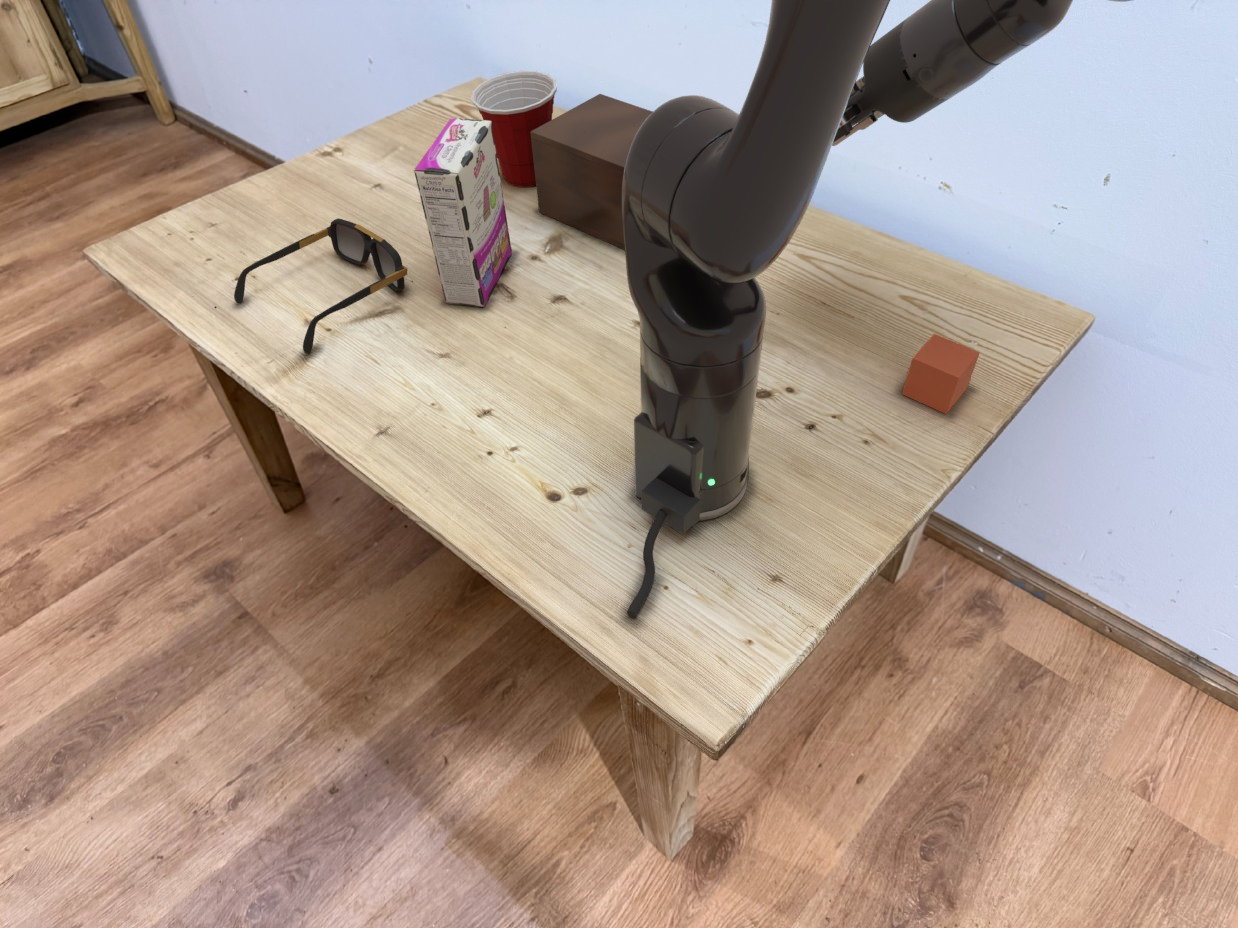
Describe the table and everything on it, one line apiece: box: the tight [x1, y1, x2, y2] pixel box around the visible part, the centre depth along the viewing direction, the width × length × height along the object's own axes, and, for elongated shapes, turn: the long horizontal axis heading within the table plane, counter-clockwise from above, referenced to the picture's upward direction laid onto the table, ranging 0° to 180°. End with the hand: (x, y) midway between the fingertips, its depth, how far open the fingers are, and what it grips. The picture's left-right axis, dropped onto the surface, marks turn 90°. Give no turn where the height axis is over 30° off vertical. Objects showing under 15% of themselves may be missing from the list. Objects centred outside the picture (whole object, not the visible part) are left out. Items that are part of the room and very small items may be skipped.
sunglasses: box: [233, 218, 408, 355], centre depth 94 cm, size 14×15×5 cm
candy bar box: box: [413, 117, 513, 308], centre depth 92 cm, size 11×5×16 cm, turn 168°
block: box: [901, 333, 981, 415], centre depth 81 cm, size 5×5×5 cm
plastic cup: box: [471, 70, 558, 188], centre depth 109 cm, size 11×11×12 cm
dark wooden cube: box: [531, 93, 653, 251], centre depth 103 cm, size 15×13×11 cm
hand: (799, 146), depth 85 cm, fingers open, 8 cm apart
